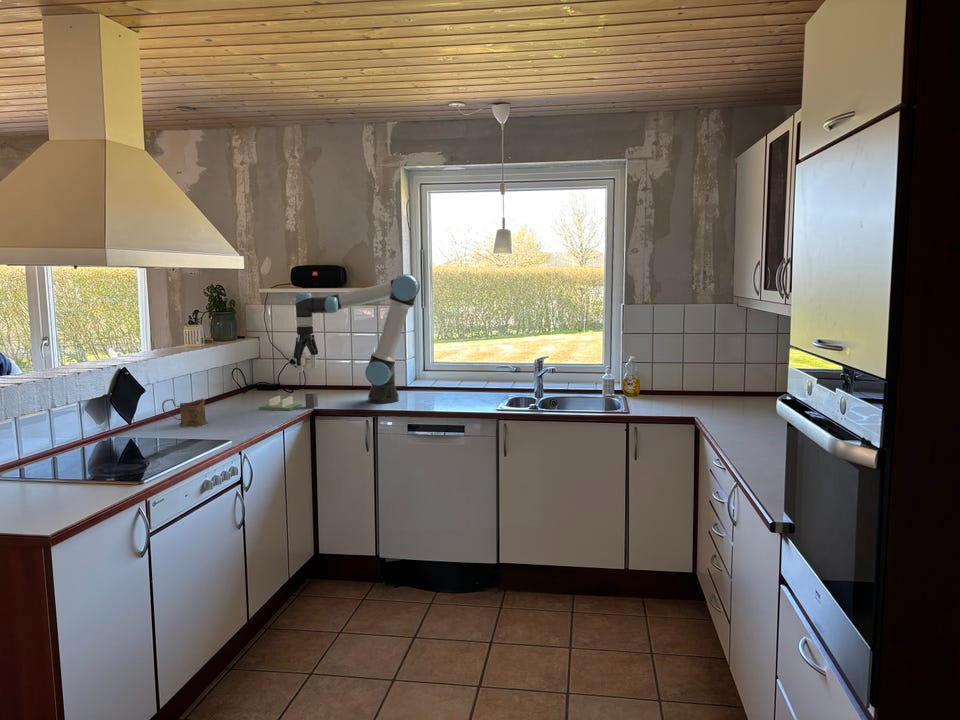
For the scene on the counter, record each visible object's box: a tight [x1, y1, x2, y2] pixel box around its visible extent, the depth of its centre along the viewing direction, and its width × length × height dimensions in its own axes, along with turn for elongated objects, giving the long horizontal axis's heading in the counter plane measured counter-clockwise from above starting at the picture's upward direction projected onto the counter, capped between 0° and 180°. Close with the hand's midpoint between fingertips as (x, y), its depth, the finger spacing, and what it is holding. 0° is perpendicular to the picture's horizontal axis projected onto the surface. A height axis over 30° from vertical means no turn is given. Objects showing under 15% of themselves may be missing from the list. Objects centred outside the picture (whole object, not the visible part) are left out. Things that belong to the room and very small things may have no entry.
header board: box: [258, 395, 303, 412], centre depth 339 cm, size 16×12×5 cm
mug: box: [161, 398, 209, 428], centre depth 302 cm, size 12×18×12 cm, turn 126°
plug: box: [304, 391, 319, 409], centre depth 340 cm, size 4×4×7 cm
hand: (306, 370), depth 340 cm, fingers open, 13 cm apart
